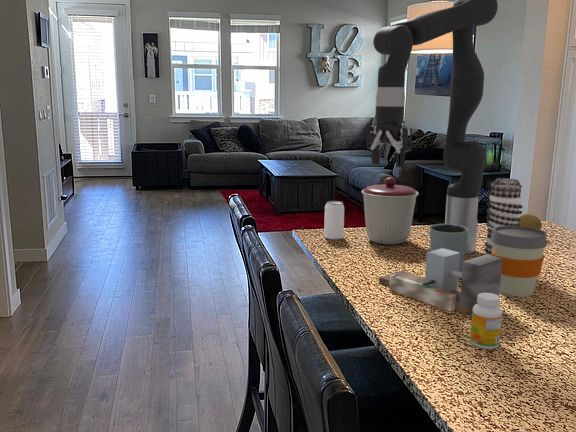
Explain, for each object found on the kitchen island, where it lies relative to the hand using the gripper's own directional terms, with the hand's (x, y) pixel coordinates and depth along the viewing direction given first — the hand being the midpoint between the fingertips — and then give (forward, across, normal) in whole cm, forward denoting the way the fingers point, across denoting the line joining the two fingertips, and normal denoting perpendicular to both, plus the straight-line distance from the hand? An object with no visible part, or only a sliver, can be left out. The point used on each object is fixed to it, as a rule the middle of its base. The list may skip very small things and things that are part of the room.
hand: (387, 165), depth 153 cm
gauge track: (+28, -24, +8) cm, 38 cm away
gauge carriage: (+26, -27, +10) cm, 39 cm away
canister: (+28, +17, -21) cm, 39 cm away
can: (+28, +31, -10) cm, 43 cm away
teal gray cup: (+28, -14, -10) cm, 33 cm away
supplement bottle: (+28, -47, +23) cm, 59 cm away
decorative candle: (+28, -22, -23) cm, 43 cm away
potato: (+28, -8, -63) cm, 70 cm away
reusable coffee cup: (+28, -34, -10) cm, 45 cm away
